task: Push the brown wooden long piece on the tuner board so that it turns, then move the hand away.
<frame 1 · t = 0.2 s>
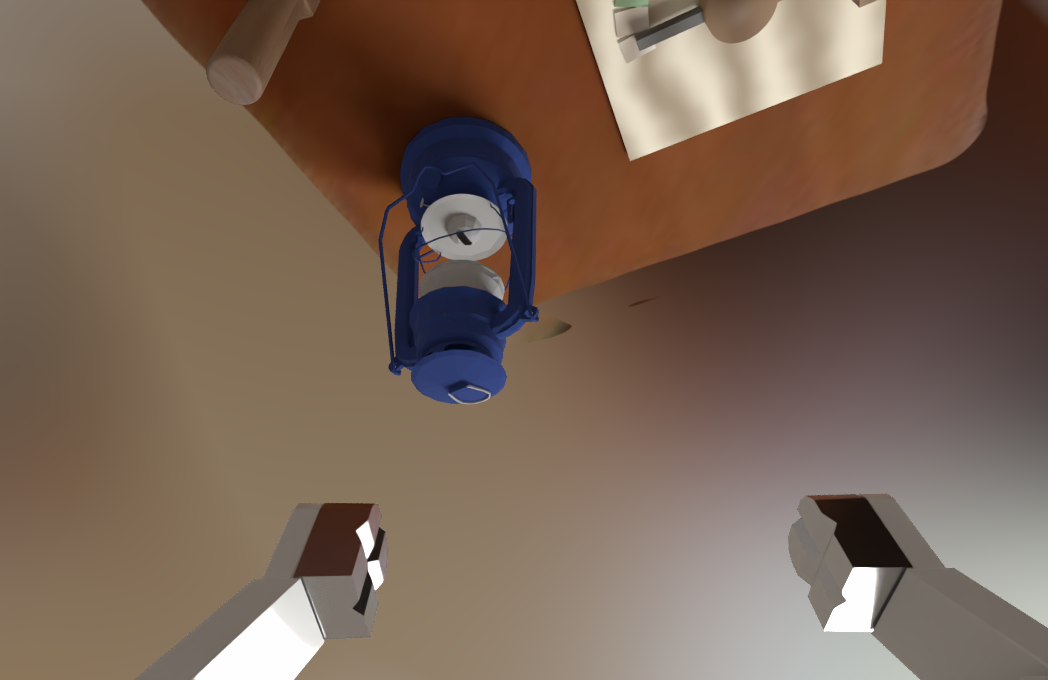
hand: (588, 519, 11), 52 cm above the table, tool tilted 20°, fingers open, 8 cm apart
lantern: (466, 176, 65), on the table
brown wooden long piece: (772, 3, 46), point 6 cm above the table, hinge at 0.0°
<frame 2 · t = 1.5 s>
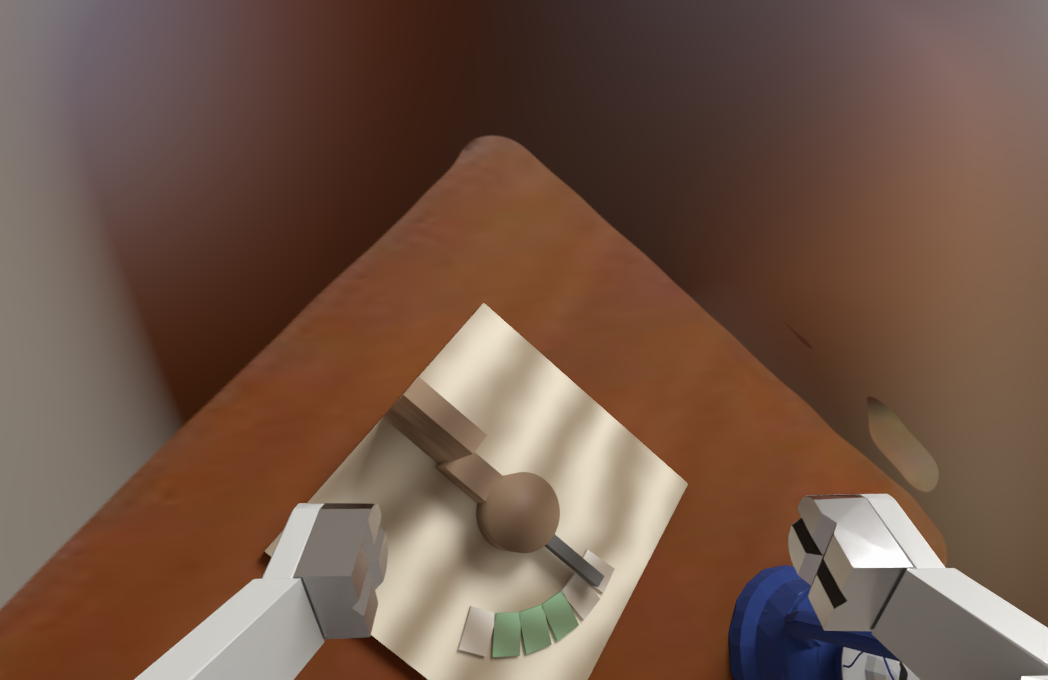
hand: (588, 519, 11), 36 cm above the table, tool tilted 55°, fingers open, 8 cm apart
lantern: (790, 650, 54), on the table
tuner board: (505, 512, 47), on the table
brown wooden long piece: (512, 494, 41), point 6 cm above the table, hinge at 0.0°
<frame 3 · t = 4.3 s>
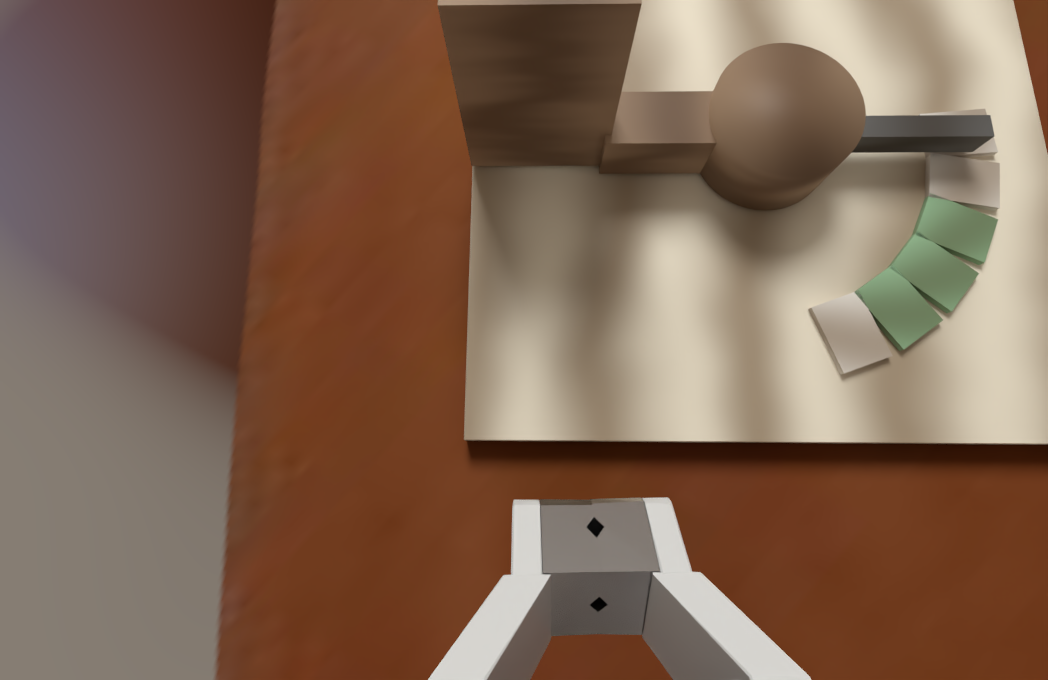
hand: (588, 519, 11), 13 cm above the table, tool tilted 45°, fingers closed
tuner board: (748, 164, 26), on the table
brown wooden long piece: (752, 82, 21), point 6 cm above the table, hinge at 0.0°
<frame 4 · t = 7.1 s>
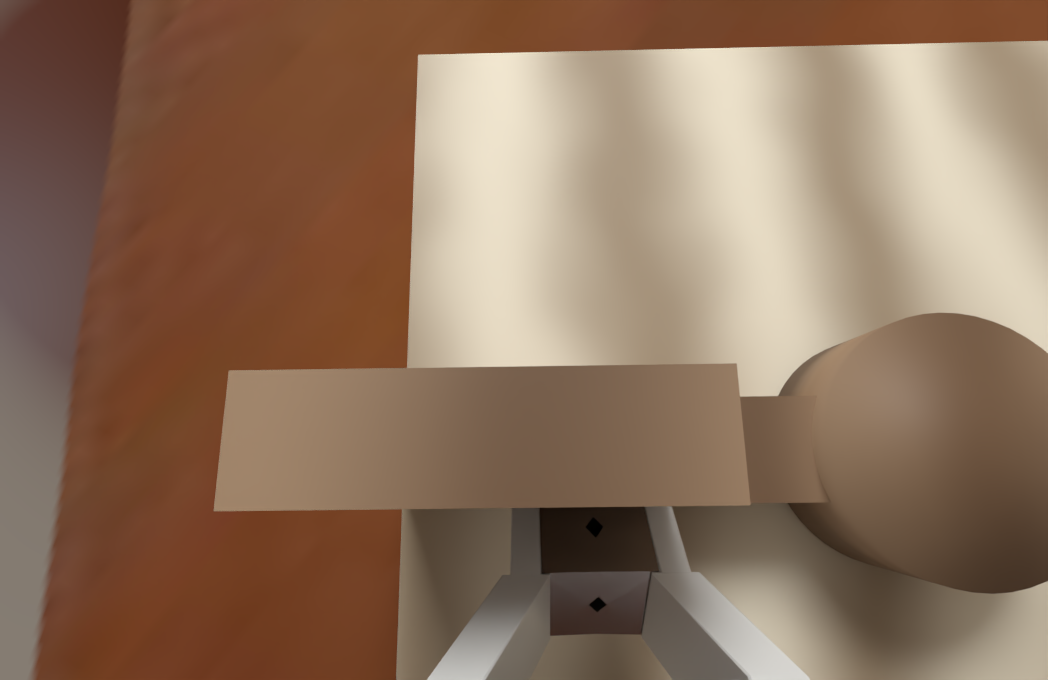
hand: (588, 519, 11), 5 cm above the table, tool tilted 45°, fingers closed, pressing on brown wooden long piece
tuner board: (854, 451, 16), on the table
brown wooden long piece: (919, 443, 11), point 6 cm above the table, hinge at 0.1°, touching gripper
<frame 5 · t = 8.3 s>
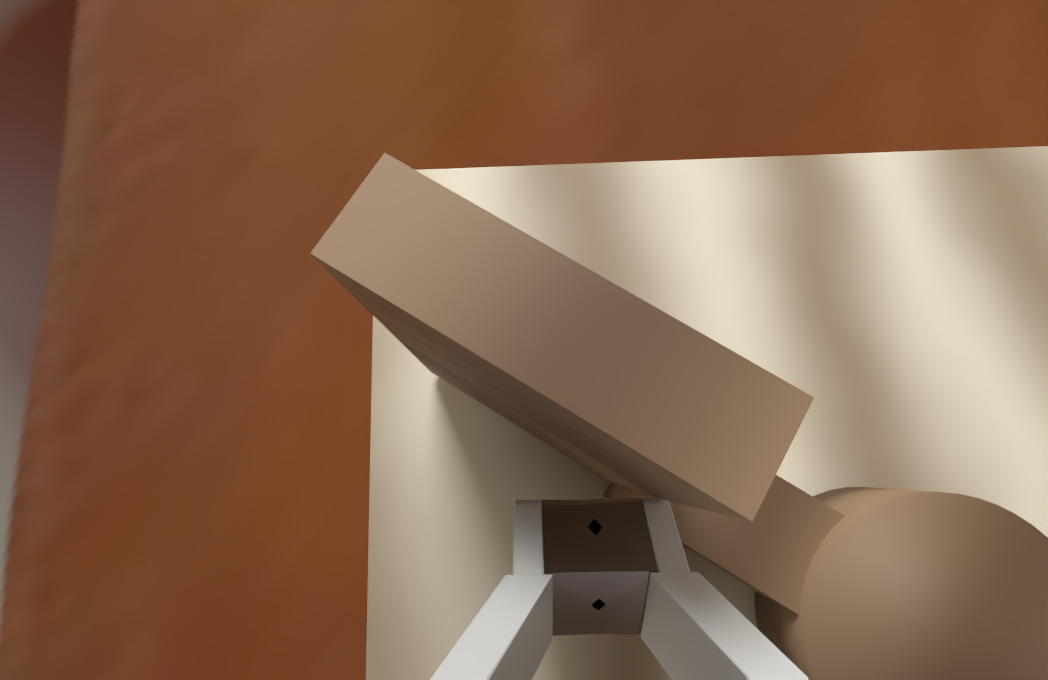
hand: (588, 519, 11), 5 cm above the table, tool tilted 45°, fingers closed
tuner board: (843, 596, 15), on the table
brown wooden long piece: (921, 608, 10), point 6 cm above the table, hinge at 33.8°, touching gripper
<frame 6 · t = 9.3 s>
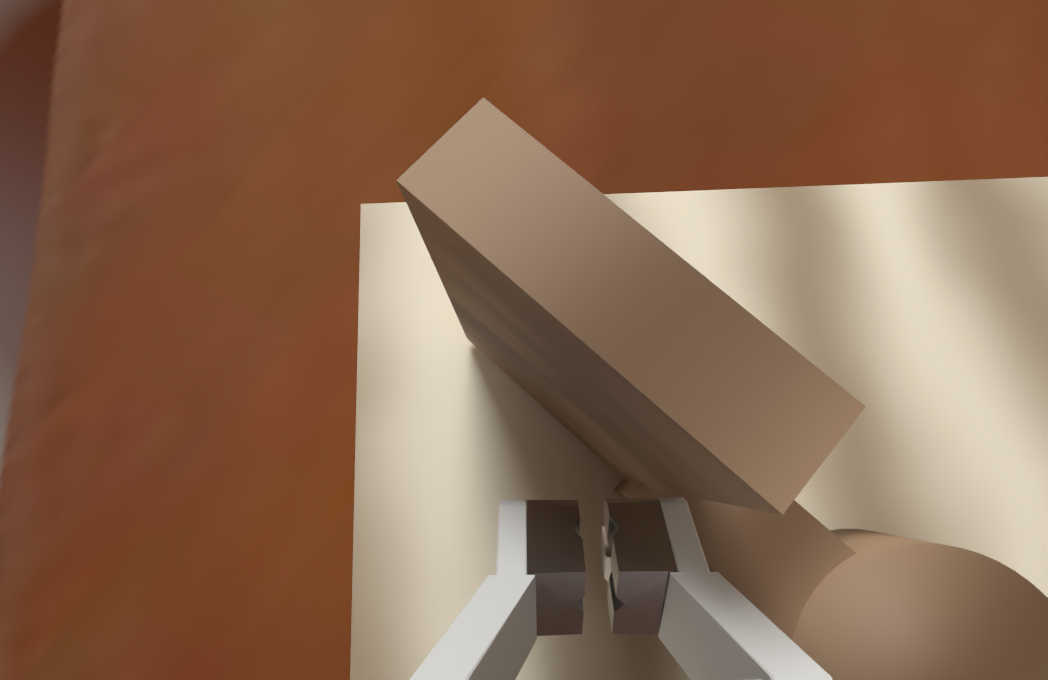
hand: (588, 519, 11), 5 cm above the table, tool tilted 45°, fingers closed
tuner board: (835, 637, 15), on the table
brown wooden long piece: (921, 654, 10), point 6 cm above the table, hinge at 44.6°, touching gripper
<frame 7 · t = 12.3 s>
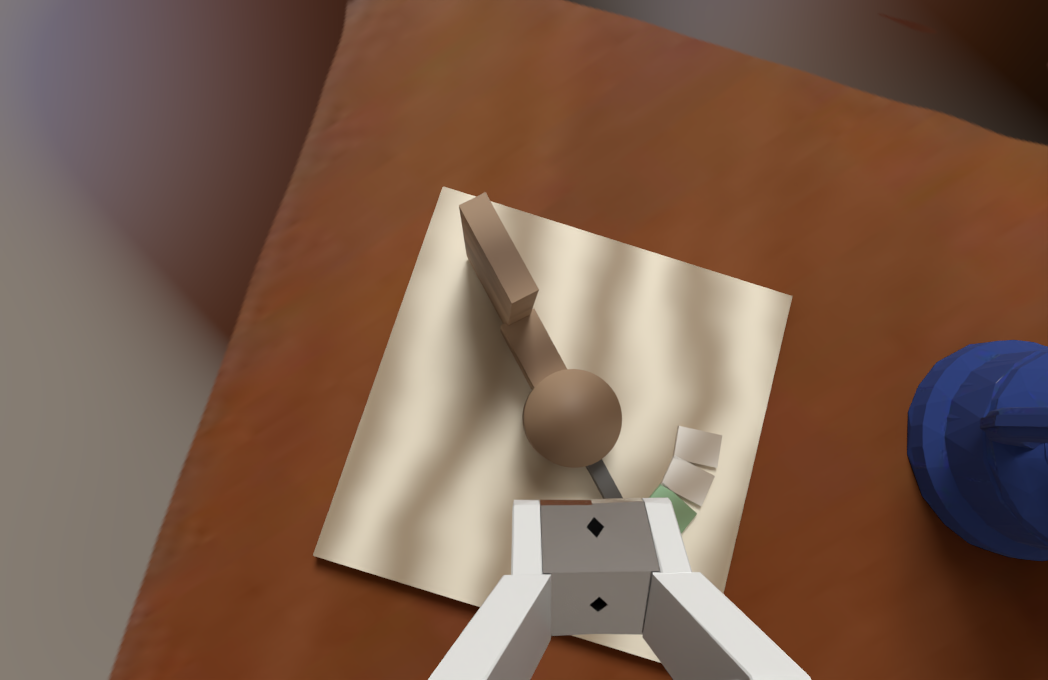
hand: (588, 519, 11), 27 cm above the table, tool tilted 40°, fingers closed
lantern: (1005, 446, 40), on the table
tuner board: (564, 418, 38), on the table
brown wooden long piece: (561, 387, 33), point 6 cm above the table, hinge at 44.7°
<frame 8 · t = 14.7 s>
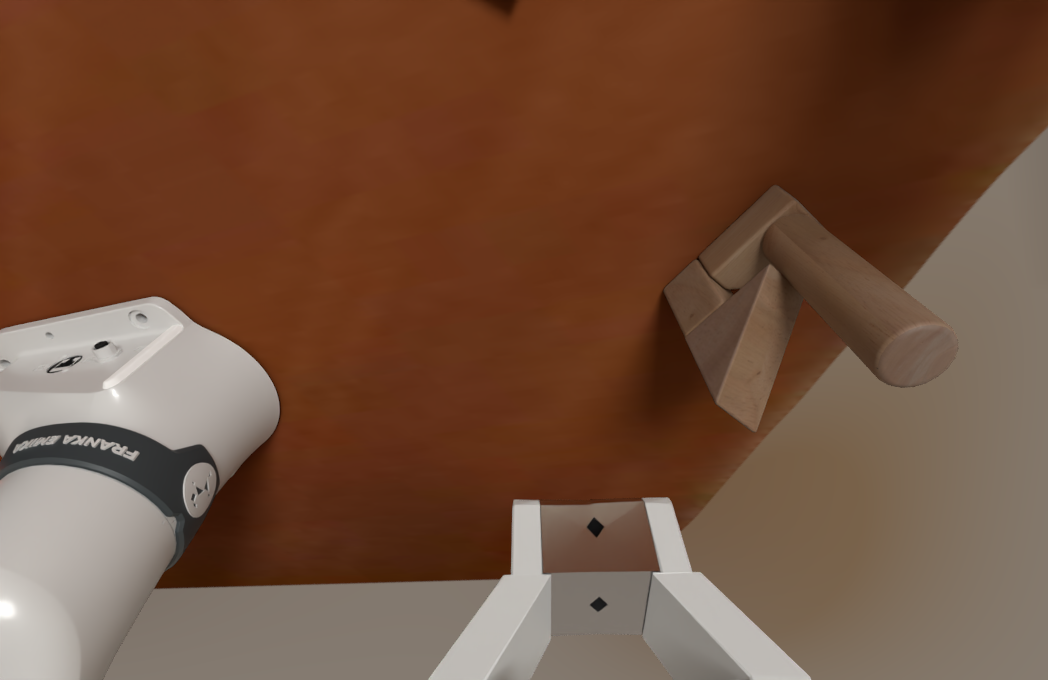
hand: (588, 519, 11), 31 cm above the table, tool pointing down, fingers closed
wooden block: (729, 251, 42), on the table
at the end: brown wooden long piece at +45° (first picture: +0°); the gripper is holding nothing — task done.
